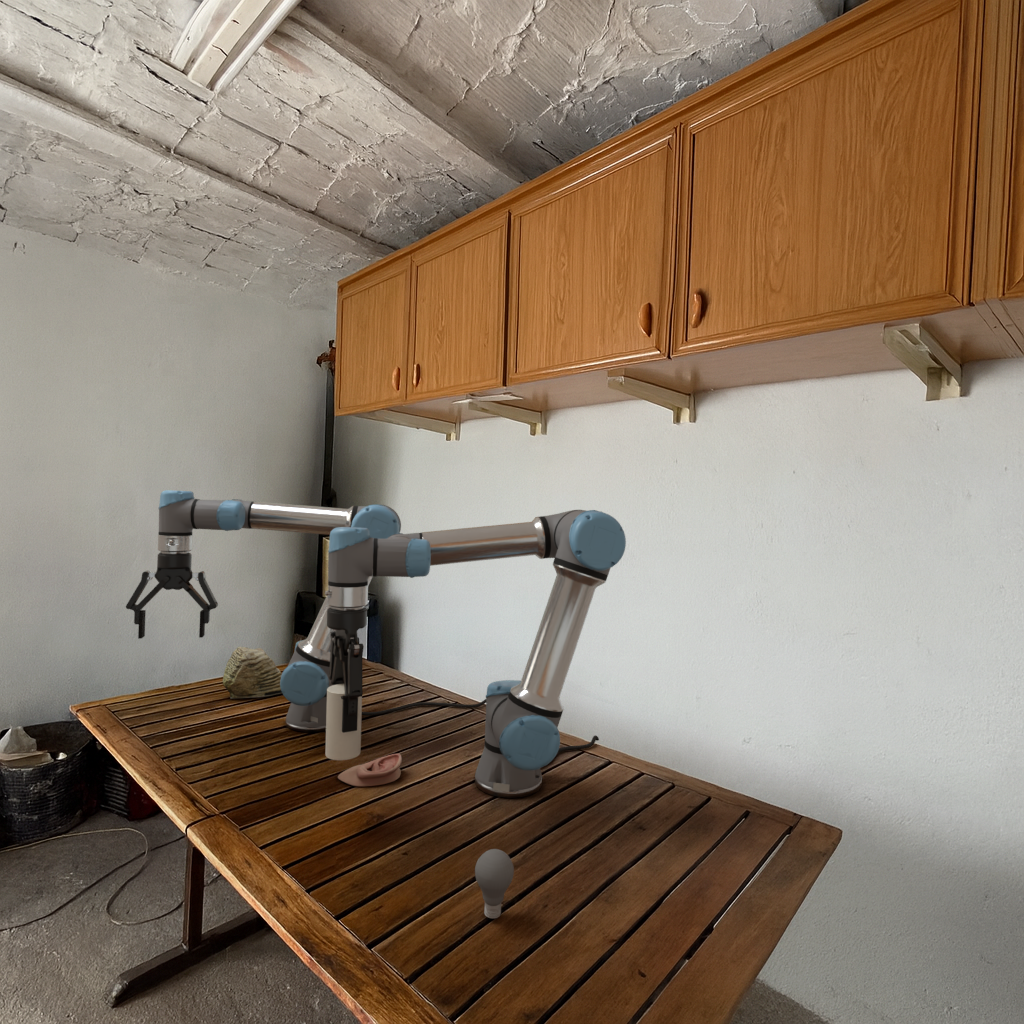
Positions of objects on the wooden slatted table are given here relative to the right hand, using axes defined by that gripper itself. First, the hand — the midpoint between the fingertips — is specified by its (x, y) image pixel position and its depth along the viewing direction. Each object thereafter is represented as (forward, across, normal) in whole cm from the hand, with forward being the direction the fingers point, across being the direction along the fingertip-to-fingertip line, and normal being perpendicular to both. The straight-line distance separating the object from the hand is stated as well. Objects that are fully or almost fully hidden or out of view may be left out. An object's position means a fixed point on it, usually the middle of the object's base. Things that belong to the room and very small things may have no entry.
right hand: (343, 724), depth 123 cm
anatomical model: (+19, -17, +12) cm, 28 cm away
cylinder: (+6, 0, 0) cm, 6 cm away
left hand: (-8, -57, -27) cm, 64 cm away
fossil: (+19, -88, -2) cm, 90 cm away
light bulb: (+20, +38, +13) cm, 44 cm away
